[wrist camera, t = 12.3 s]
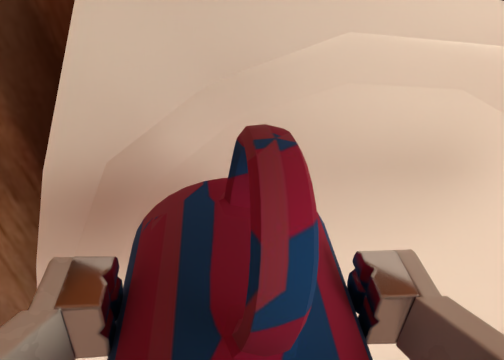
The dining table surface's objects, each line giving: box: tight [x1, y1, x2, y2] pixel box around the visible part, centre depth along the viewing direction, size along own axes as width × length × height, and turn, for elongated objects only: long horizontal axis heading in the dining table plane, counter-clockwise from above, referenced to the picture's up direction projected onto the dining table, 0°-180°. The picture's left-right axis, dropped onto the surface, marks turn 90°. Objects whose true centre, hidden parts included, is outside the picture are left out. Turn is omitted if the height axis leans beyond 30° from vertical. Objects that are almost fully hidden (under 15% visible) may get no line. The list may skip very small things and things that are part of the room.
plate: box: [36, 0, 504, 360], centre depth 21 cm, size 29×29×3 cm
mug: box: [107, 124, 373, 360], centre depth 11 cm, size 7×10×7 cm
